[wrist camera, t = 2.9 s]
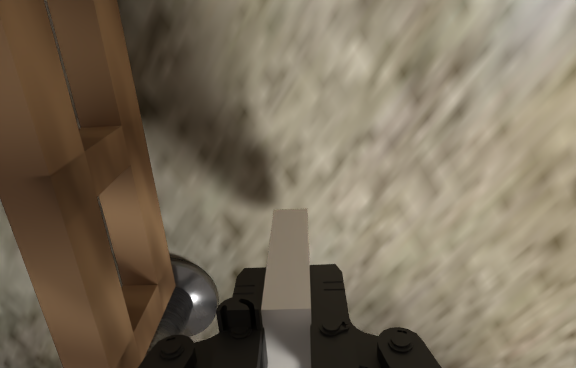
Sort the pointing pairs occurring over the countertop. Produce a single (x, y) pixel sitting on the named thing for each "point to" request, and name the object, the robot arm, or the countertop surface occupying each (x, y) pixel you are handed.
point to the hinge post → (187, 303)
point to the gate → (81, 181)
